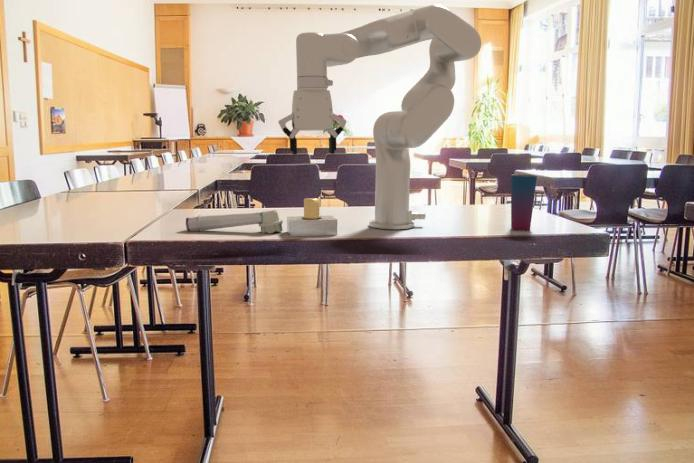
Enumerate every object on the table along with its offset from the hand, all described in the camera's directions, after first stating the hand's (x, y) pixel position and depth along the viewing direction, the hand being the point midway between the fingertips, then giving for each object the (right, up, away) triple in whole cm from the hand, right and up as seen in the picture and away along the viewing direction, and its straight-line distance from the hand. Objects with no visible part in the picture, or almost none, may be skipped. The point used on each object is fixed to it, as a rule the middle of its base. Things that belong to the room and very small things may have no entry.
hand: (313, 153), depth 151 cm
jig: (-1, -20, +3) cm, 21 cm away
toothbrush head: (-21, -20, +5) cm, 30 cm away
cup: (+57, -19, +13) cm, 61 cm away
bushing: (-1, -20, +3) cm, 21 cm away
